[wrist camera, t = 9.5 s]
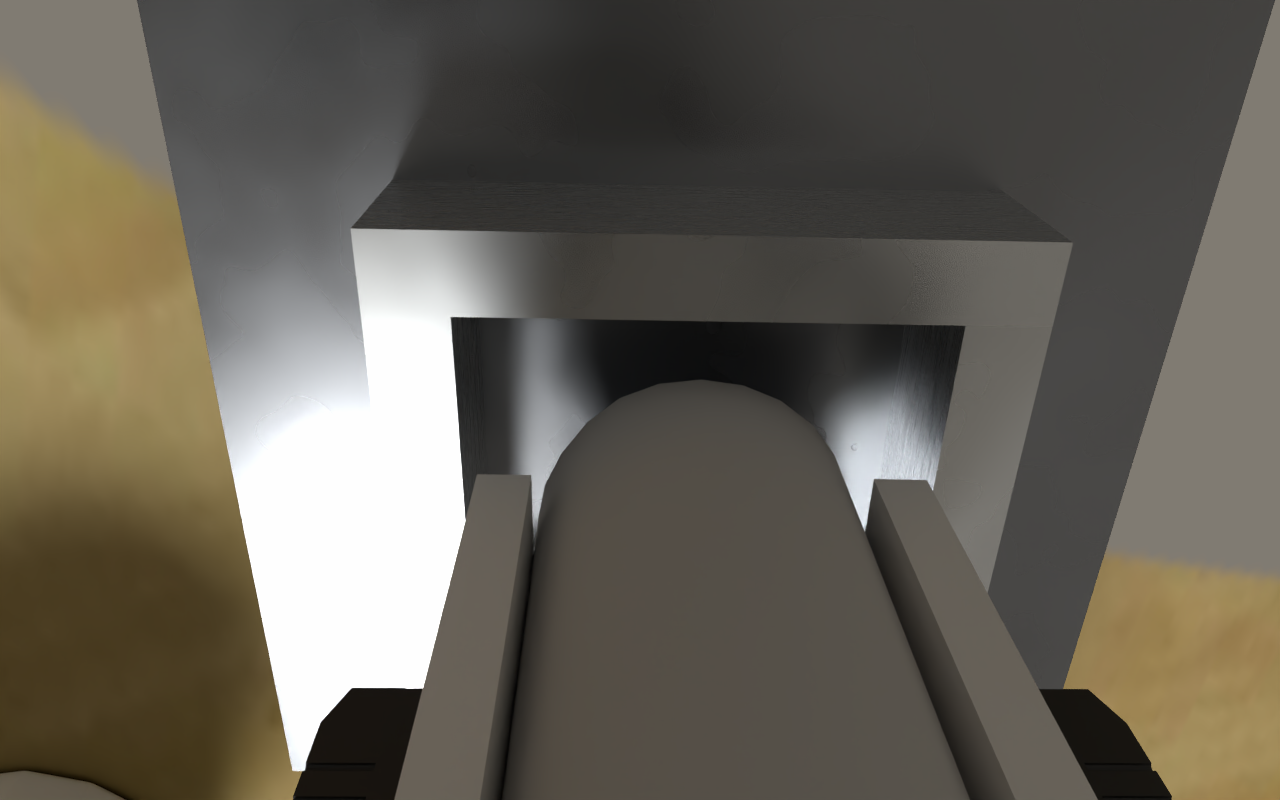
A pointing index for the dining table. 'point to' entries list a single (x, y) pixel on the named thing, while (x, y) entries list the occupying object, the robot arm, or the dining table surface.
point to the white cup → (49, 788)
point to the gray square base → (680, 265)
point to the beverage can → (713, 619)
